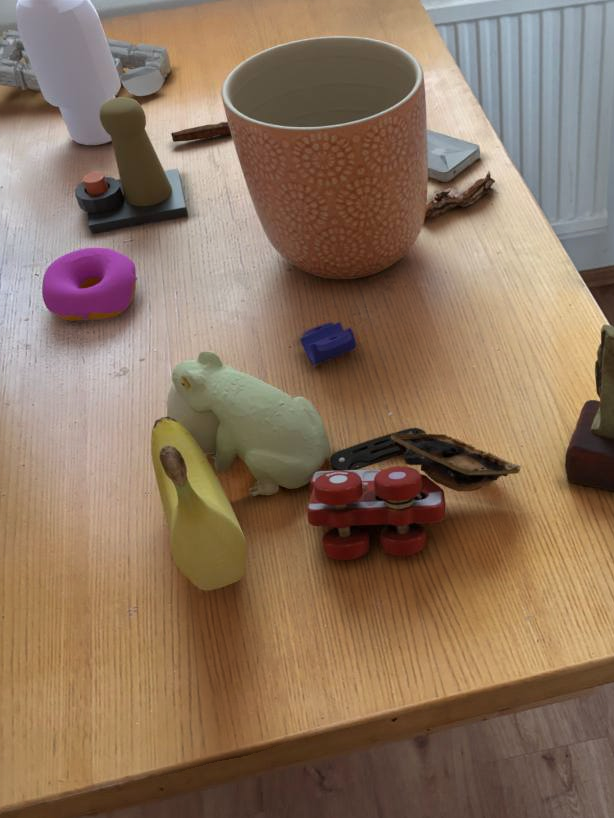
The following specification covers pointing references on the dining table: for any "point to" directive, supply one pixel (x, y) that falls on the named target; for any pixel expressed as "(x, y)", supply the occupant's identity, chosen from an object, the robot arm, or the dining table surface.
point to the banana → (196, 509)
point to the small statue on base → (596, 426)
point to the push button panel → (129, 206)
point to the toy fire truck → (374, 509)
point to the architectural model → (148, 61)
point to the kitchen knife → (201, 132)
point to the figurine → (248, 423)
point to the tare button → (95, 183)
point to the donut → (89, 284)
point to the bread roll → (452, 461)
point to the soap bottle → (70, 62)
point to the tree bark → (458, 197)
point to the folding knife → (368, 452)
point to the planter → (333, 150)
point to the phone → (449, 156)
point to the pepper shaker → (134, 153)
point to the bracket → (327, 342)
